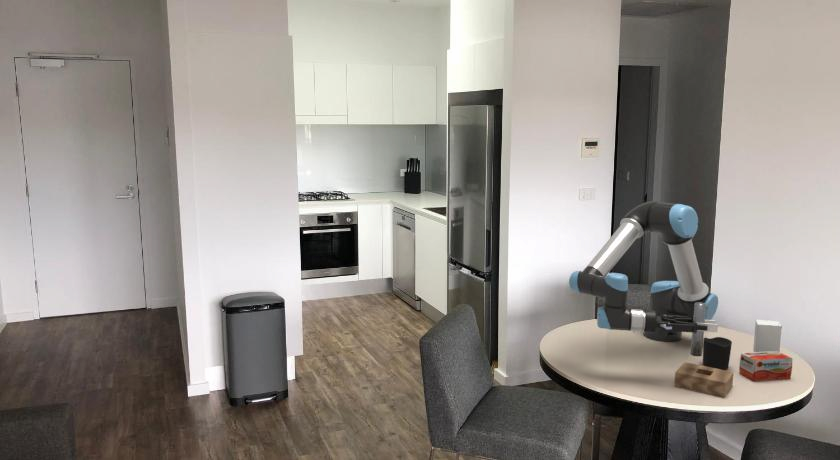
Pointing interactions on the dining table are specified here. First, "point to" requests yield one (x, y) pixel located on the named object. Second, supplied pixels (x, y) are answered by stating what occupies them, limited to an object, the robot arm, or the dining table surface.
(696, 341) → the pin
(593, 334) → the dining table surface
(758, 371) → the medicine box
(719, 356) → the pen holder
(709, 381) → the socket block
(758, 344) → the skincare box
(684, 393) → the dining table surface
